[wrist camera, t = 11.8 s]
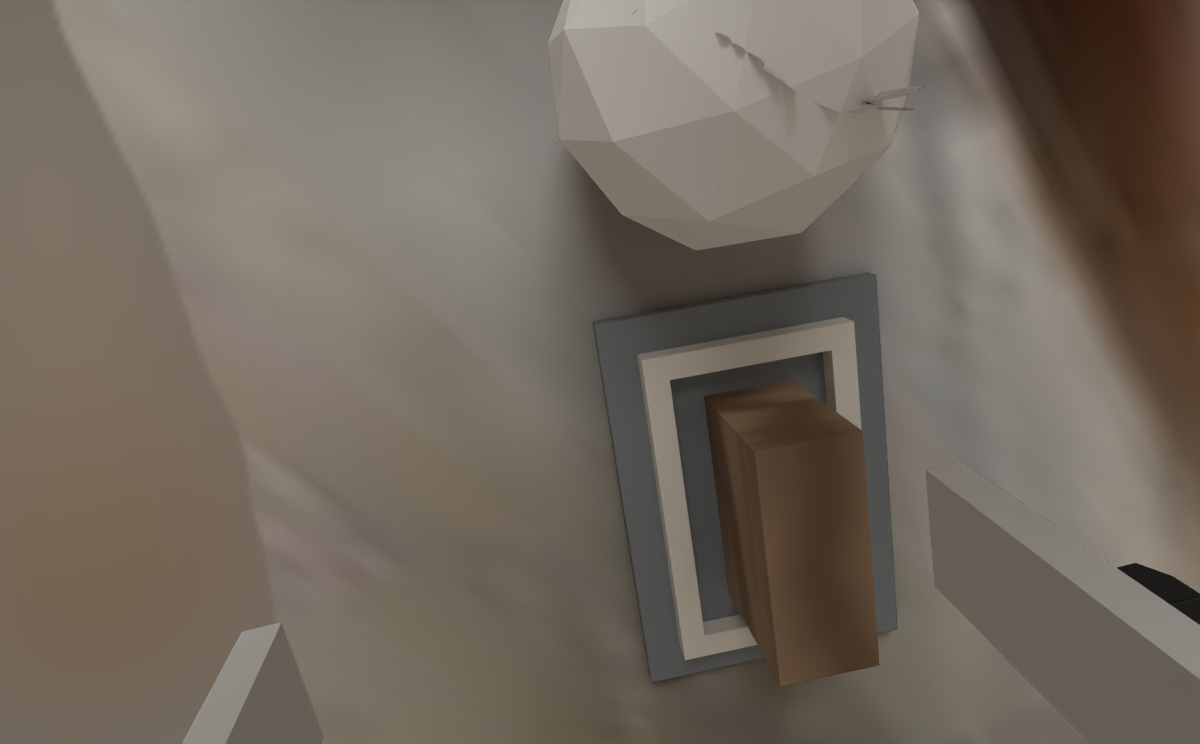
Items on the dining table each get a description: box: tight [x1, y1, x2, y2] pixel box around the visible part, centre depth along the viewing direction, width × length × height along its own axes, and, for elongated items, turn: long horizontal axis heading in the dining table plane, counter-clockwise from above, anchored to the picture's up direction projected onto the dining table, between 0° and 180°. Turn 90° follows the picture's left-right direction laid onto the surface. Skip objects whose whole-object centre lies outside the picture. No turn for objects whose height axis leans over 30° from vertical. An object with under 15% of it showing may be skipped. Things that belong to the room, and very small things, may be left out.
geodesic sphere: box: [548, 0, 925, 251], centre depth 29 cm, size 14×14×14 cm
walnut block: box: [704, 380, 879, 687], centre depth 37 cm, size 4×11×8 cm, turn 9°
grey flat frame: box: [593, 273, 898, 682], centre depth 40 cm, size 20×14×2 cm
